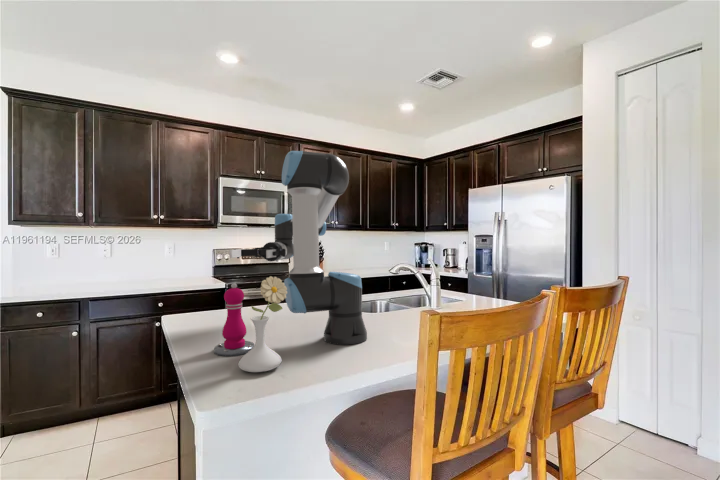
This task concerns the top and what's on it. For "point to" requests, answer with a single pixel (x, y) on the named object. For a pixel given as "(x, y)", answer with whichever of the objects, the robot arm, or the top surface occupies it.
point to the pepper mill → (234, 319)
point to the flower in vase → (260, 354)
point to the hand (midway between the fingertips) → (248, 254)
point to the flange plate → (222, 351)
